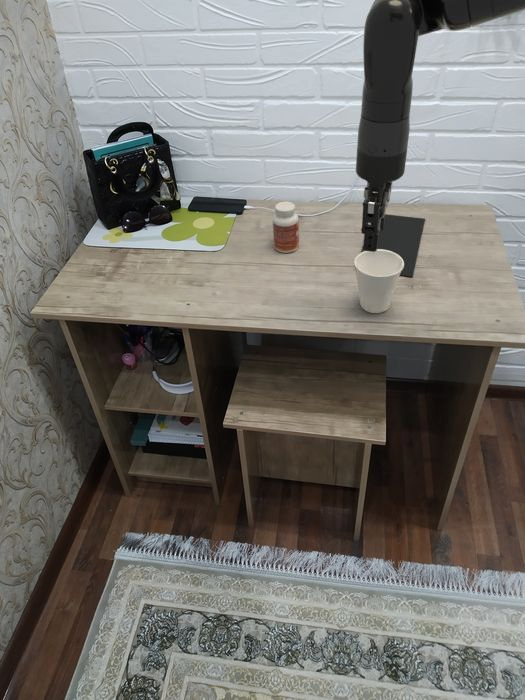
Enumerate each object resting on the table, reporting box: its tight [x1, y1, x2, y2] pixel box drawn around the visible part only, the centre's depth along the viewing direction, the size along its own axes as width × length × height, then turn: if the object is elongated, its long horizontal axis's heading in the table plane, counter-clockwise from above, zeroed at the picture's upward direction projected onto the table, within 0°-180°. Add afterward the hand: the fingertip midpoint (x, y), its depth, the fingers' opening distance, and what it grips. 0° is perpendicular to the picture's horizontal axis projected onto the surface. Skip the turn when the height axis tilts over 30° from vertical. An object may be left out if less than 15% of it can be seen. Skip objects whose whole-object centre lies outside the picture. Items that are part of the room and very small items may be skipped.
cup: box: [353, 249, 404, 314], centre depth 118 cm, size 10×10×11 cm
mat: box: [354, 213, 426, 278], centre depth 139 cm, size 26×13×1 cm, turn 162°
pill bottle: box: [272, 201, 300, 254], centre depth 137 cm, size 6×6×11 cm
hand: (373, 239), depth 98 cm, fingers open, 6 cm apart
